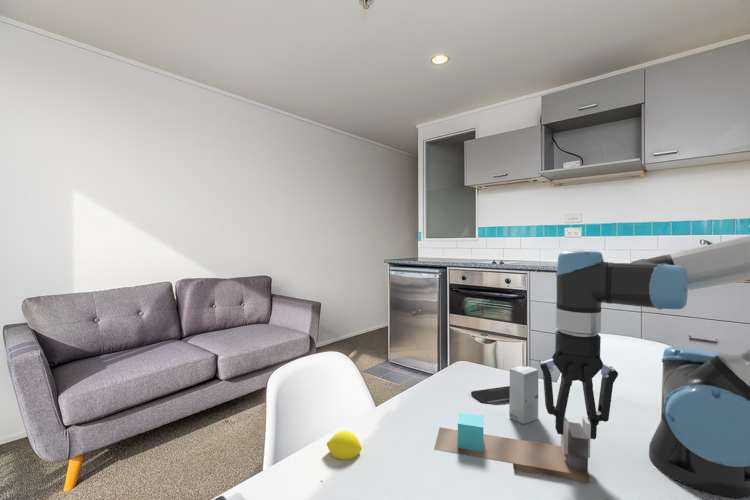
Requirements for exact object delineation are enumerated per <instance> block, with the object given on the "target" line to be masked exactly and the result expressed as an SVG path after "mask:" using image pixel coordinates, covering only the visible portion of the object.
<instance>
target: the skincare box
mask: <svg viewBox="0 0 750 500" xmlns="http://www.w3.org/2000/svg"><path fill="white" fill-rule="evenodd" d="M509 386H510V401H509V403H508V405H509V411H508V412H509V413H508V414H509V418H511V419H512V420H514V421H516V422H517V423H520V424H523V425H524V424H528V423H530V422H532V421H535V420H537V419H538V418H539V369H537V368H535V367H531V366H528V365H525V364H524V365H519V366H516V367H513V368H510V369H509Z"/></svg>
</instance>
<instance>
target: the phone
mask: <svg viewBox="0 0 750 500" xmlns="http://www.w3.org/2000/svg"><path fill="white" fill-rule="evenodd" d="M470 395H472V396H471V397H473V399H475V398H476V401H478V402H479V403H481V404H483V405H491V406H497V405H503V404H509V401H510V385H507V386H500V387H494V388H493V387H492V388H486V389H480V390H479V389H478V390H472V391H471V392H470Z"/></svg>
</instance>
